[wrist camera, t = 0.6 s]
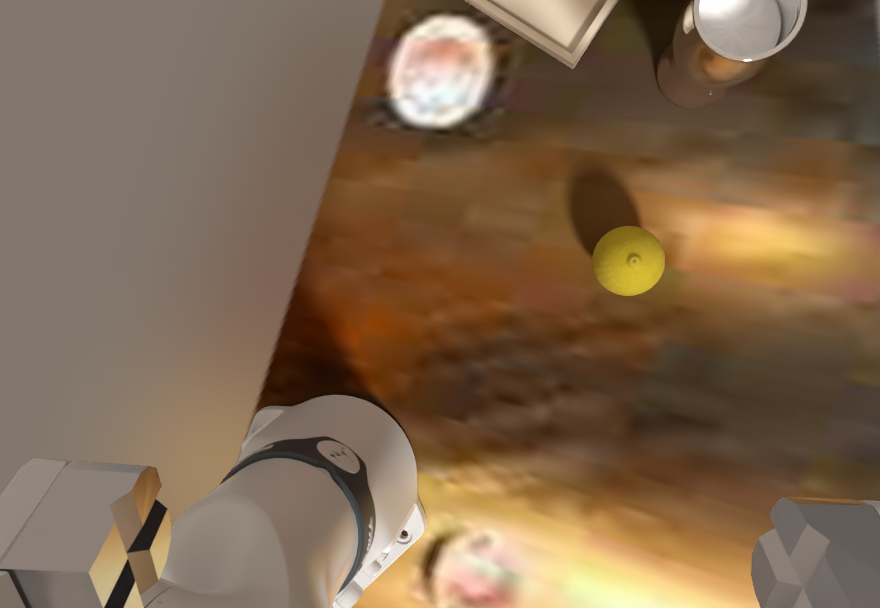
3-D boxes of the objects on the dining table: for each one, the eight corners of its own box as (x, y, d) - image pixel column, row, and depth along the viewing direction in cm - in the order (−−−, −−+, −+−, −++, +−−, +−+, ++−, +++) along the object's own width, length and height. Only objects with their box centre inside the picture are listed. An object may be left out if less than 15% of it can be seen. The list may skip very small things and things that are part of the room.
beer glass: (634, 87, 57) (667, 28, 42) (681, 12, 56) (733, -76, 41) (706, 130, 56) (766, 85, 41) (756, 55, 55) (836, -18, 40)
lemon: (625, 214, 58) (638, 208, 50) (669, 263, 57) (690, 264, 49) (575, 257, 58) (580, 258, 50) (618, 306, 58) (630, 314, 50)
